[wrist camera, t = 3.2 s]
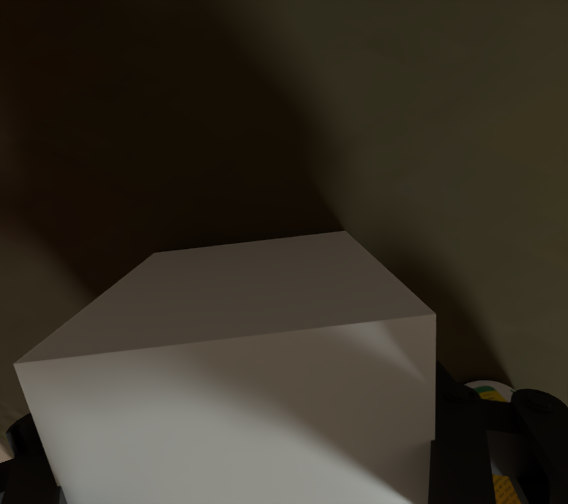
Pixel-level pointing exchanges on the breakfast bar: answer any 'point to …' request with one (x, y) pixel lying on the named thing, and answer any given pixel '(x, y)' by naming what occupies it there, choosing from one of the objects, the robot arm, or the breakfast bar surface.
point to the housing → (242, 381)
